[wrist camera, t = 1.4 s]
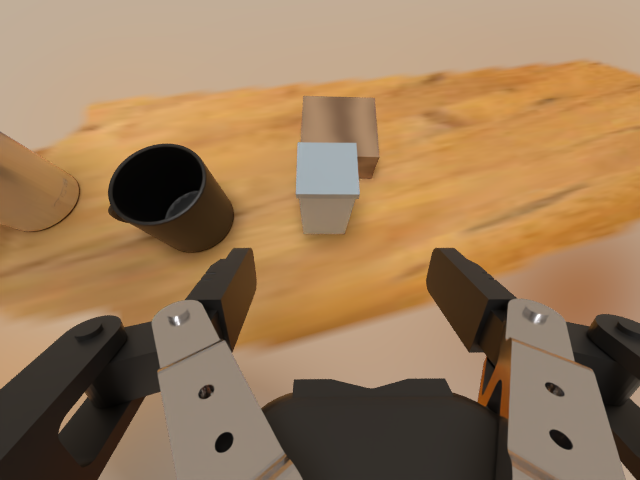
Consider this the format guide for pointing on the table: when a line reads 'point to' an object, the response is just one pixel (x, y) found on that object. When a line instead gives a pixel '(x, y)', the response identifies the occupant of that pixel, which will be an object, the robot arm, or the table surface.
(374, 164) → the walnut block
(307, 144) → the grey lidded pillar
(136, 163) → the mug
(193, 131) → the table surface
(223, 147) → the table surface
